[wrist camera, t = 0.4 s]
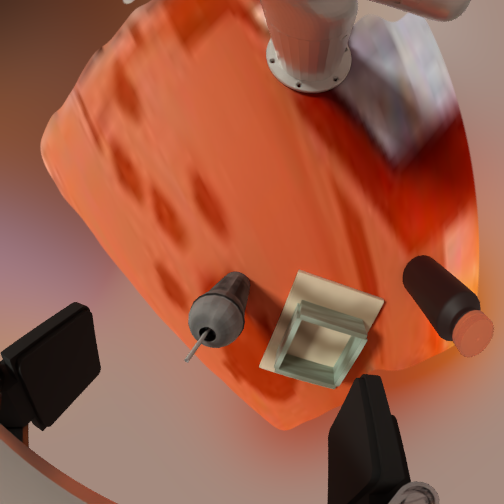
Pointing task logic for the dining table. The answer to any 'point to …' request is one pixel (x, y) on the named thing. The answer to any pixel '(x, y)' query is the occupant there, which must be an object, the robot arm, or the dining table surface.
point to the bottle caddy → (320, 331)
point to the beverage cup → (219, 313)
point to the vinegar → (448, 305)
